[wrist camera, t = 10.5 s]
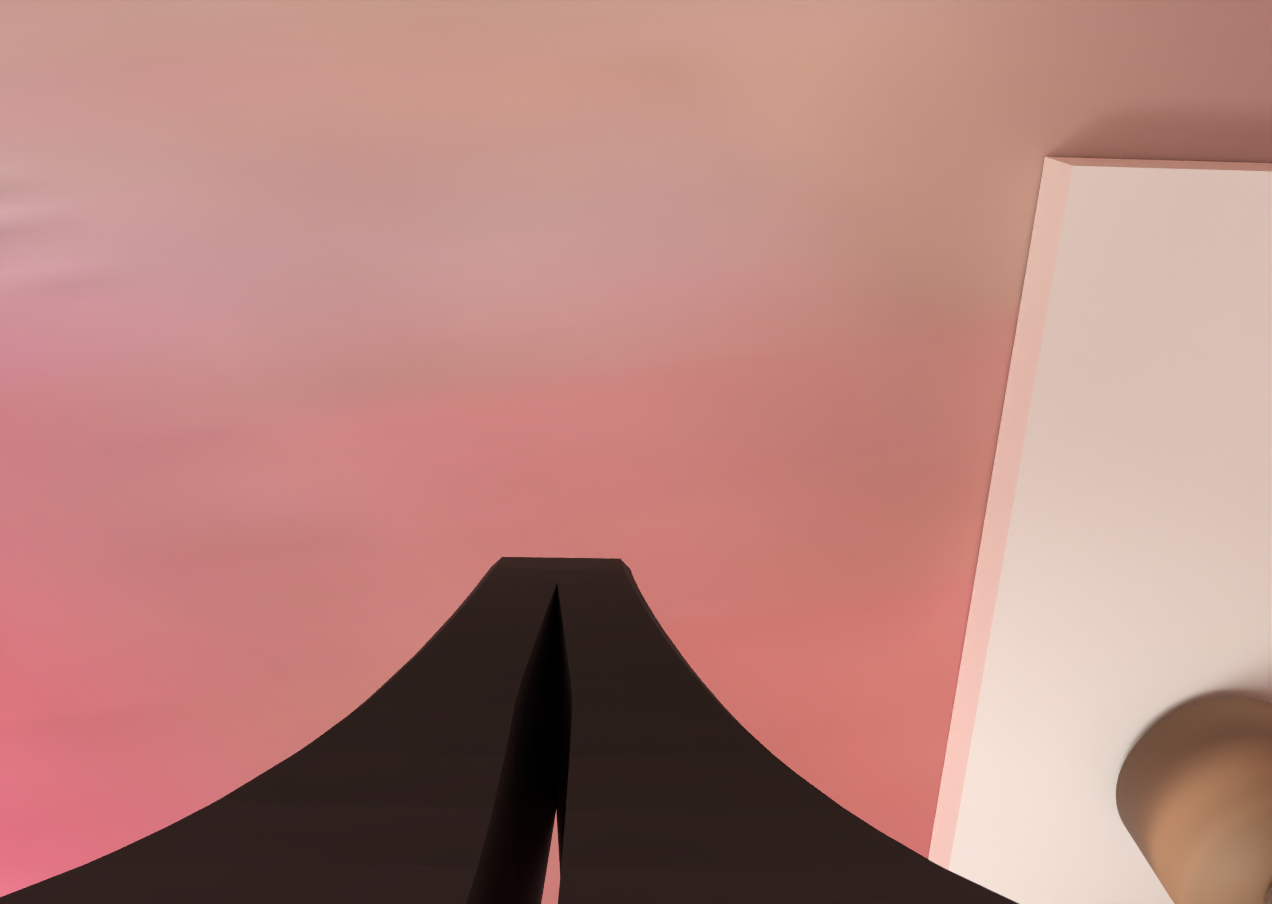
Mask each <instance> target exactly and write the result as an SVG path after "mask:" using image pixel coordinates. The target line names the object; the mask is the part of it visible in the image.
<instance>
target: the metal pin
mask: <svg viewBox="0 0 1272 904" xmlns="http://www.w3.org/2000/svg"><path fill="white" fill-rule="evenodd" d="M1263 904H1272V886H1271V888H1270V889H1269V890H1268V892H1267V894H1266V896H1265V899H1264V903H1263Z"/></svg>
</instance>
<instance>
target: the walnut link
mask: <svg viewBox="0 0 1272 904" xmlns="http://www.w3.org/2000/svg"><path fill="white" fill-rule="evenodd" d="M1116 805H1117V809H1118V813H1119V816H1120V818H1121V820H1122V822H1123V824H1124V826H1125V827H1126V829H1127V831H1128V832H1129V834H1130V835H1131V837H1132V838H1133V840H1134V841H1135V843H1136V845H1137V846H1138V848H1139V849H1140V851H1141V852H1142V854H1143V856H1144V857H1145V859H1146V860H1147V862H1148V863H1149V865H1150V867H1151V868H1152V870H1153V871H1154V873H1155V874H1156V876H1157V877H1158V879H1159V881H1160V882H1161V884H1162V885H1163V887H1164V888H1165V890H1166V892H1167V893H1168V895H1169V896H1170V898H1171V899H1172V901H1173V902H1174V904H1263V903H1264V899H1265V896H1266V894H1267V892H1268V890H1269V889H1270V888H1271V886H1272V703H1269V702H1266V701H1262V700H1258V699H1252V698H1243V697H1230V698H1220V699H1214V700H1209V701H1204V702H1201V703H1198V704H1195V705H1192V706H1189V707H1187V708H1184V709H1182V710H1180V711H1178V712H1176V713H1174V714H1172V715H1170V716H1169V717H1167V718H1165V719H1164V720H1162V721H1161V722H1159V723H1158V724H1157V725H1155V726H1154V727H1153V728H1152V729H1151V730H1149V731H1148V732H1147V733H1146V734H1145V735H1144V736H1143V737H1142V738H1141V739H1140V740H1139V741H1138V742H1137V743H1136V745H1135V746H1134V747H1133V749H1132V750H1131V751H1130V753H1129V754H1128V756H1127V758H1126V760H1125V761H1124V763H1123V765H1122V768H1121V770H1120V773H1119V776H1118V780H1117V784H1116Z"/></svg>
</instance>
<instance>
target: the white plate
mask: <svg viewBox="0 0 1272 904" xmlns="http://www.w3.org/2000/svg"><path fill="white" fill-rule="evenodd" d="M1230 697H1243V698H1252V699H1258V700H1262V701H1266V702H1269V703H1272V163H1250V162H1215V161H1179V160H1144V159H1109V158H1073V157H1045V160H1044V166H1043V172H1042V178H1041V184H1040V190H1039V196H1038V202H1037V208H1036V214H1035V220H1034V226H1033V232H1032V238H1031V244H1030V250H1029V256H1028V262H1027V268H1026V274H1025V280H1024V286H1023V292H1022V298H1021V304H1020V310H1019V316H1018V322H1017V328H1016V334H1015V340H1014V346H1013V352H1012V358H1011V364H1010V370H1009V376H1008V382H1007V388H1006V394H1005V400H1004V406H1003V412H1002V418H1001V424H1000V430H999V436H998V442H997V449H996V455H995V461H994V467H993V473H992V479H991V485H990V491H989V497H988V503H987V509H986V515H985V521H984V527H983V533H982V539H981V545H980V551H979V557H978V563H977V569H976V575H975V581H974V587H973V593H972V599H971V605H970V611H969V617H968V623H967V629H966V635H965V641H964V647H963V653H962V659H961V665H960V671H959V677H958V683H957V689H956V695H955V701H954V707H953V713H952V719H951V725H950V731H949V737H948V743H947V749H946V755H945V761H944V767H943V773H942V779H941V785H940V791H939V797H938V803H937V809H936V815H935V821H934V827H933V833H932V839H931V845H930V851H929V857H928V860H930V861H932V862H934V863H936V864H937V865H939V866H941V867H943V868H945V869H947V870H949V871H951V872H953V873H955V874H958V875H960V876H962V877H964V878H966V879H968V880H970V881H972V882H974V883H977V884H979V885H981V886H983V887H985V888H987V889H989V890H991V891H993V892H996V893H998V894H1000V895H1002V896H1004V897H1006V898H1008V899H1010V900H1012V901H1015V902H1017V903H1019V904H1174V902H1173V901H1172V899H1171V898H1170V896H1169V895H1168V893H1167V892H1166V890H1165V888H1164V887H1163V885H1162V884H1161V882H1160V881H1159V879H1158V877H1157V876H1156V874H1155V873H1154V871H1153V870H1152V868H1151V867H1150V865H1149V863H1148V862H1147V860H1146V859H1145V857H1144V856H1143V854H1142V852H1141V851H1140V849H1139V848H1138V846H1137V845H1136V843H1135V841H1134V840H1133V838H1132V837H1131V835H1130V834H1129V832H1128V831H1127V829H1126V827H1125V826H1124V824H1123V822H1122V820H1121V818H1120V816H1119V813H1118V809H1117V805H1116V784H1117V780H1118V776H1119V773H1120V770H1121V768H1122V765H1123V763H1124V761H1125V760H1126V758H1127V756H1128V754H1129V753H1130V751H1131V750H1132V749H1133V747H1134V746H1135V745H1136V743H1137V742H1138V741H1139V740H1140V739H1141V738H1142V737H1143V736H1144V735H1145V734H1146V733H1147V732H1148V731H1149V730H1151V729H1152V728H1153V727H1154V726H1155V725H1157V724H1158V723H1159V722H1161V721H1162V720H1164V719H1165V718H1167V717H1169V716H1170V715H1172V714H1174V713H1176V712H1178V711H1180V710H1182V709H1184V708H1187V707H1189V706H1192V705H1195V704H1198V703H1201V702H1204V701H1209V700H1214V699H1220V698H1230Z"/></svg>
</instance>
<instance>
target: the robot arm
mask: <svg viewBox="0 0 1272 904" xmlns="http://www.w3.org/2000/svg"><path fill="white" fill-rule="evenodd" d="M556 810H557V827H558V844H559V861H560V888H559V898H558V904H1019V903H1017V902H1015V901H1012V900H1010V899H1008V898H1006V897H1004V896H1002V895H1000V894H998V893H996V892H993V891H991V890H989V889H987V888H985V887H983V886H981V885H979V884H977V883H974V882H972V881H970V880H968V879H966V878H964V877H962V876H960V875H958V874H955V873H953V872H951V871H949V870H947V869H945V868H943V867H941V866H939V865H937V864H936V863H934V862H932V861H930V860H928V859H927V858H925V857H923V856H921V855H920V854H918V853H916V852H915V851H913V850H911V849H909V848H908V847H906V846H904V845H903V844H901V843H899V842H897V841H896V840H894V839H892V838H890V837H889V836H887V835H885V834H884V833H882V832H880V831H878V830H877V829H875V828H874V827H872V826H871V825H869V824H868V823H866V822H864V821H863V820H861V819H860V818H858V817H857V816H855V815H854V814H852V813H851V812H849V811H847V810H846V809H844V808H843V807H841V806H840V805H839V804H837V803H836V802H835V801H833V800H832V799H830V798H829V797H828V796H826V795H825V794H824V793H822V792H821V791H820V790H818V789H817V788H815V787H814V786H813V785H811V784H810V783H809V782H807V781H806V780H805V779H803V778H802V777H800V776H799V775H798V774H796V773H795V772H794V771H793V770H791V769H790V768H789V767H788V766H786V765H785V764H784V763H783V762H782V761H780V760H779V759H778V758H777V757H775V756H774V755H773V754H772V753H771V752H770V751H769V750H767V749H766V748H765V747H764V746H763V745H762V744H761V743H760V742H759V741H758V740H757V739H755V738H754V737H753V736H752V735H751V734H750V733H749V732H748V731H747V730H746V729H745V728H744V727H743V726H742V725H741V724H740V723H739V722H738V721H737V720H736V719H735V718H734V717H733V716H732V715H731V714H730V713H729V712H728V710H727V709H726V708H725V707H724V706H723V705H722V704H721V703H720V702H719V700H718V699H717V698H716V697H715V696H714V695H713V693H712V692H711V691H710V690H709V689H708V688H707V687H706V685H705V684H704V683H703V682H702V681H701V679H700V678H699V677H698V676H697V674H696V673H695V672H694V671H693V669H692V668H691V667H690V666H689V664H688V663H687V662H686V660H685V659H684V658H683V656H682V655H681V653H680V652H679V651H678V649H677V648H676V647H675V645H674V644H673V642H672V641H671V640H670V638H669V637H668V635H667V634H666V633H665V631H664V630H663V628H662V627H661V625H660V624H659V622H658V621H657V619H656V618H655V616H654V614H653V613H652V611H651V609H650V608H649V606H648V604H647V603H646V601H645V599H644V597H643V596H642V594H641V592H640V590H639V588H638V586H637V584H636V582H635V580H634V578H633V575H632V573H631V570H630V568H629V567H628V566H627V565H626V564H625V563H624V562H623V561H622V560H621V559H601V558H531V557H502V558H501V559H500V560H498V561H497V562H496V563H495V564H494V565H493V566H492V567H491V568H490V569H489V571H488V572H487V573H486V575H485V576H484V577H483V578H482V580H481V581H480V582H479V584H478V585H477V586H476V587H475V589H474V590H473V591H472V592H471V593H470V595H469V596H468V597H467V598H466V600H465V601H464V602H463V603H462V604H461V605H460V607H459V608H458V609H457V610H456V611H455V612H454V614H453V615H452V616H451V617H450V618H449V619H448V620H447V621H446V622H445V624H444V625H443V626H442V627H441V628H440V629H439V630H438V631H437V632H436V633H435V634H434V635H433V636H432V638H431V639H430V640H429V641H428V642H427V643H426V644H425V645H424V646H423V647H422V648H421V649H420V650H419V651H418V652H417V653H416V655H415V656H414V657H413V658H412V659H410V660H409V661H408V662H407V663H406V664H405V665H404V666H403V667H402V668H401V669H400V670H399V671H398V672H397V673H396V674H394V675H393V676H392V677H391V678H390V679H389V680H388V681H387V682H386V683H385V684H384V685H383V686H382V687H381V688H379V689H378V690H377V691H376V692H375V693H374V694H373V695H372V696H371V697H370V698H369V699H367V700H366V701H365V702H364V703H363V704H362V705H360V706H359V707H358V708H357V709H356V710H354V711H353V712H352V713H351V714H350V715H348V716H347V717H346V718H344V719H343V720H342V721H340V722H339V723H338V724H336V725H335V726H333V727H332V728H331V729H329V730H328V731H327V732H325V733H324V734H323V735H321V736H320V737H318V738H317V739H316V740H314V741H313V742H312V743H310V744H309V745H307V746H306V747H304V748H303V749H301V750H300V751H298V752H297V753H295V754H294V755H292V756H290V757H289V758H287V759H286V760H284V761H282V762H281V763H279V764H277V765H276V766H274V767H272V768H271V769H269V770H267V771H266V772H264V773H263V774H261V775H259V776H258V777H256V778H254V779H253V780H251V781H249V782H248V783H246V784H244V785H243V786H241V787H239V788H238V789H236V790H235V791H233V792H231V793H230V794H228V795H226V796H225V797H223V798H221V799H219V800H218V801H216V802H214V803H212V804H210V805H209V806H207V807H205V808H203V809H201V810H199V811H197V812H195V813H193V814H191V815H189V816H187V817H185V818H183V819H181V820H180V821H178V822H176V823H174V824H172V825H170V826H168V827H166V828H164V829H162V830H159V831H157V832H155V833H153V834H151V835H149V836H147V837H145V838H143V839H140V840H138V841H136V842H134V843H132V844H130V845H128V846H126V847H123V848H121V849H119V850H117V851H115V852H113V853H110V854H108V855H106V856H103V857H101V858H99V859H96V860H94V861H92V862H90V863H87V864H85V865H83V866H80V867H78V868H75V869H72V870H70V871H67V872H65V873H62V874H60V875H57V876H54V877H52V878H49V879H47V880H44V881H42V882H39V883H36V884H34V885H31V886H29V887H26V888H24V889H21V890H18V891H16V892H13V893H11V894H8V895H6V896H3V897H0V904H541V900H542V894H543V888H544V882H545V876H546V870H547V863H548V857H549V851H550V845H551V838H552V832H553V826H554V820H555V813H556Z"/></svg>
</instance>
